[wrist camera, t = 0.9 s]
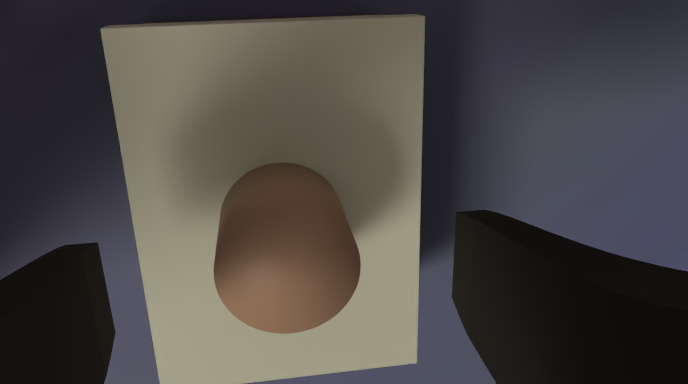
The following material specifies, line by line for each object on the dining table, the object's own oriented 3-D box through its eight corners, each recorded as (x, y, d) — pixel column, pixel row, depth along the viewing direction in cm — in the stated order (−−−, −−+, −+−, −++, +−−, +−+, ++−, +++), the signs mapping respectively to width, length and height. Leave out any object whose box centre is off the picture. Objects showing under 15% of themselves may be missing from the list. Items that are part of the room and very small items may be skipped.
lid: (405, 336, 18) (445, 430, 14) (168, 362, 17) (145, 470, 13) (410, 12, 14) (464, 26, 11) (113, 23, 13) (63, 43, 10)
